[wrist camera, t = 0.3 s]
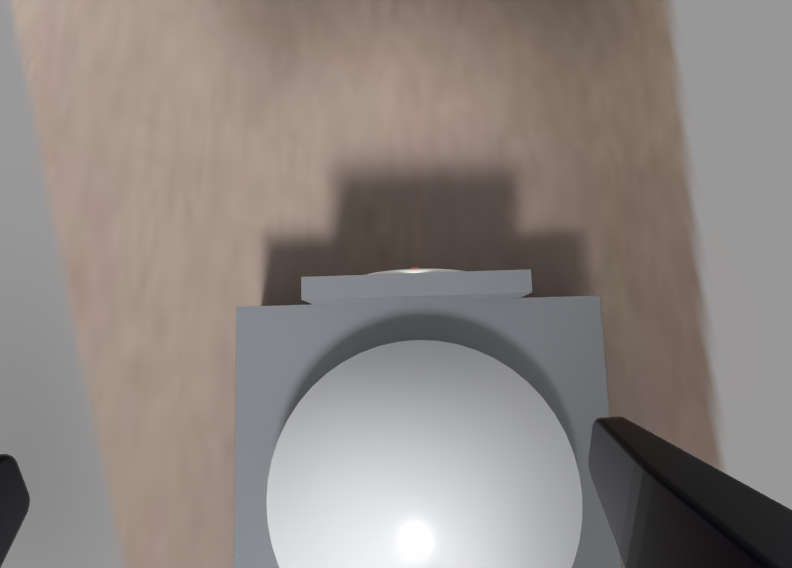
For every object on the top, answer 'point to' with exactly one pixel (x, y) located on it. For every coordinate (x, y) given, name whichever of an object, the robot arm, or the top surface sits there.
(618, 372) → the top surface
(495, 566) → the dial scale
